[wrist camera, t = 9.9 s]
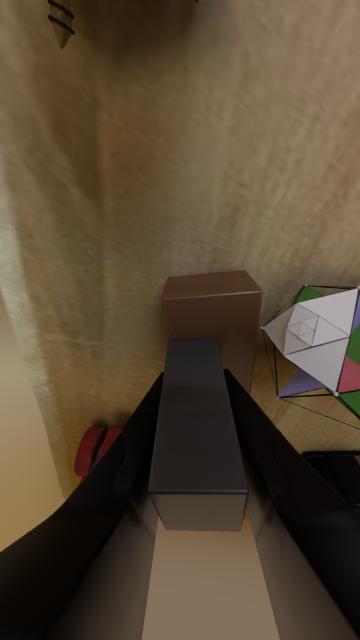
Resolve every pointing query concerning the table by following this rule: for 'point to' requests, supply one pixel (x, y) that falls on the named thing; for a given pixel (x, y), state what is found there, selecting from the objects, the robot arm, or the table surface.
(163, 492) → the walnut pusher
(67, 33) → the game die
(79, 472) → the toy fire truck
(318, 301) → the geometric puzzle
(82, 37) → the table surface
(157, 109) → the table surface
